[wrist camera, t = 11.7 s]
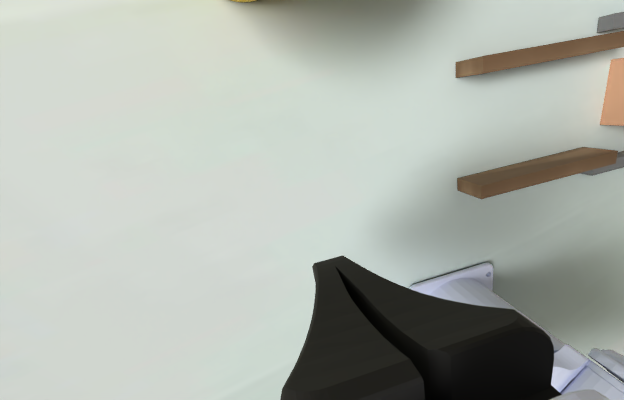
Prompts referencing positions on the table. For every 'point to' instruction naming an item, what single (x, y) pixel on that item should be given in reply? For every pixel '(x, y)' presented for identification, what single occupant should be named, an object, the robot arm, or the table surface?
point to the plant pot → (243, 0)
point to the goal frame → (603, 25)
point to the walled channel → (548, 165)
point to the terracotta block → (614, 95)
